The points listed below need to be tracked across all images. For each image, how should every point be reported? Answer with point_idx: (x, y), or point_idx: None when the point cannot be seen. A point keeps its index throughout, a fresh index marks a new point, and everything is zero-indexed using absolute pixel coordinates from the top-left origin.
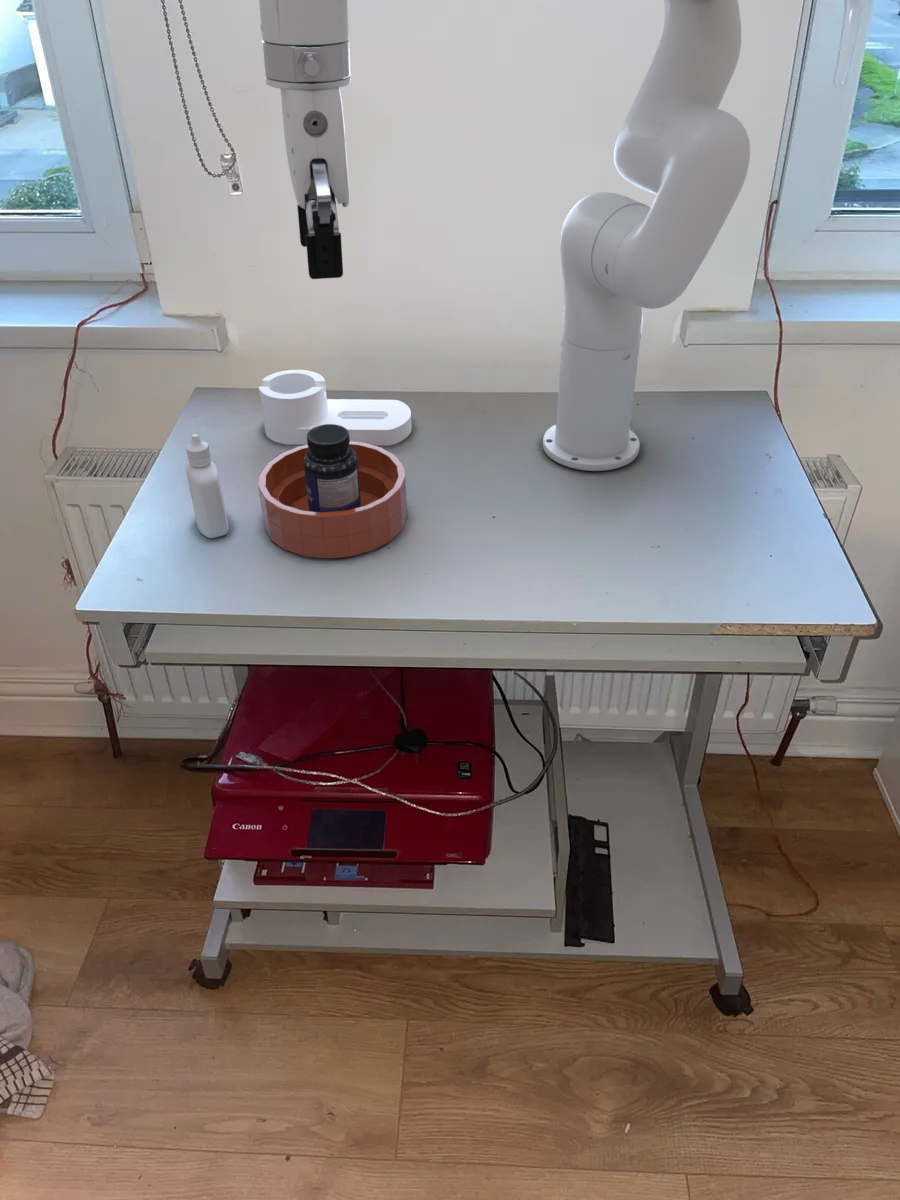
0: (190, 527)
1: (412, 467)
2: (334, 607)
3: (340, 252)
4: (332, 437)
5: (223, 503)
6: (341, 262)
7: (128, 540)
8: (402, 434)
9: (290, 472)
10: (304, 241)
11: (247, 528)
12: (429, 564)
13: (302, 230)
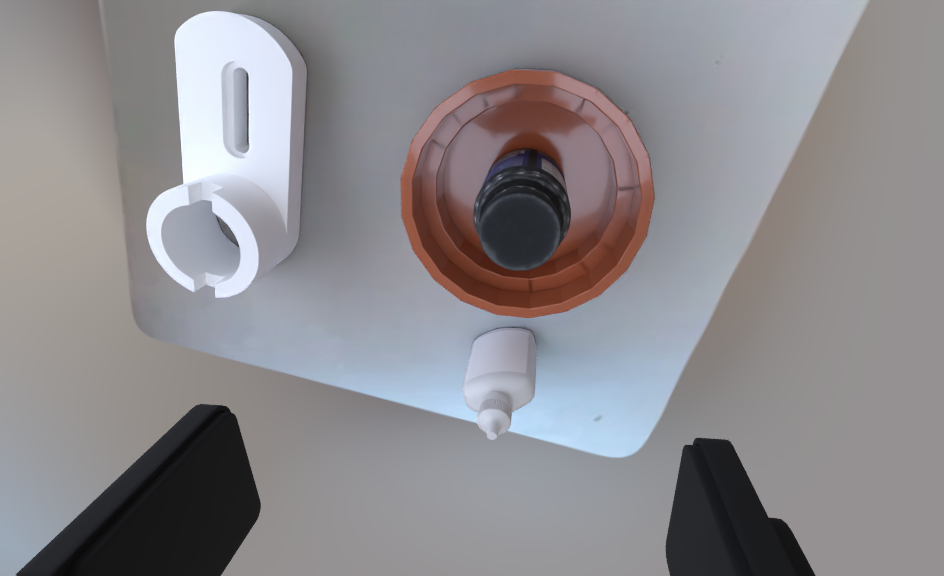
0: None
1: (384, 33)
2: (746, 212)
3: (782, 552)
4: (534, 226)
5: (521, 351)
6: (754, 495)
7: (513, 426)
8: (283, 38)
9: (444, 256)
10: (247, 518)
11: None
12: (694, 49)
13: (218, 568)
